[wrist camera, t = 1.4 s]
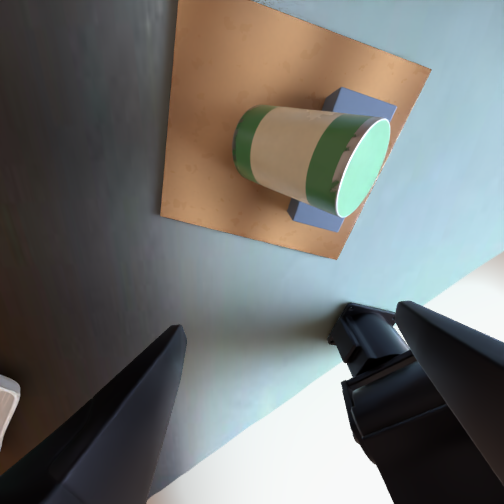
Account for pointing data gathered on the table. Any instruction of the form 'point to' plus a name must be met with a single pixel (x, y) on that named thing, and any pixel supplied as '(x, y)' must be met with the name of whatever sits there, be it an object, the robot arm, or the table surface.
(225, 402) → the table surface
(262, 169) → the green tin
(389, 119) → the blue blocks
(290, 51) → the cork mat
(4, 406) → the square plate
